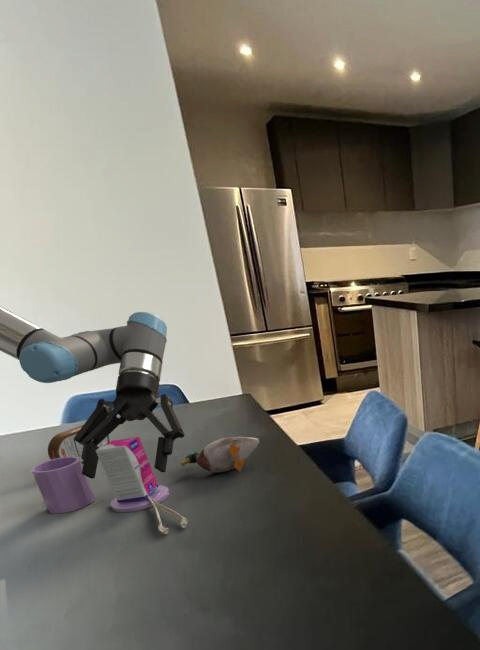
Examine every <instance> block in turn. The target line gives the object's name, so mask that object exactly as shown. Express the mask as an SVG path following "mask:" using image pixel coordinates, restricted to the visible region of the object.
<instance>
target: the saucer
mask: <svg viewBox="0 0 480 650" xmlns="http://www.w3.org/2000/svg"><path fill="white" fill-rule="evenodd" d="M148 496H150V497H151V498H152V499H153V500H155V501H156V502H158V503H160V504H161V503H162V502H164V501H165V500H166V499H167V498H168V497H169V496H170V490H169V488H168V487H167V486H166V485H160V484H158V488H156V489H155V490H154V491H153V492H152V493H150V494H149V495H148ZM152 507H154V506H153V505H152V503H151V501H150V500H149V498H148V497H146V498H145V499H140V500H134V501H128V502H123V503H118V502H117V499H116V497H114V498H113V499H112V500H111V501H110V508H111V510H112V511H113V512H116V513H131V512H138V511H141V510H145V509H148V508H152Z"/></svg>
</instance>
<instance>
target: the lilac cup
mask: <svg viewBox="0 0 480 650" xmlns="http://www.w3.org/2000/svg"><path fill="white" fill-rule="evenodd" d="M82 469H83V463H81V460H80V458H78V457H73V456H71V457H62V458H57V459H53V460H51V459H49V460H46V461H42V462H41V463H38V464H36V465H34V466H32V468H31V469H30V472H31V475H32V476H33V477H32V478H33V479H34V482H35V484H36V486H37V488H38V491H39V494H40V495H41V498H42V500H43V502H44V505H45V508H46V509H47V511H48V513H50V514H65V513H70V512H75V511H77V510H79V509H82V508H84V507H87V506H88V505H90V504H91V503H92V502H94V501H95V496H94V492H93V489H92V487H91V484H90V482H89V479H88V477H87V476H85V475H83V474H82Z"/></svg>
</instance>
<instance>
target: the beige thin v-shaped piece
mask: <svg viewBox="0 0 480 650" xmlns="http://www.w3.org/2000/svg"><path fill="white" fill-rule="evenodd" d="M147 497H148V498H149V500H150V501H151V503H152V505H153V506H152V507H153V509H154V511H155V514H156V517H157V520H158V526H157V529H158V531H159V532H160V533H162V534H163V535H169V533H170V532H169V530H170V528H169V527H165V526H163V523H162V520H161V516H160V512H159V510H158V509H160V511H162V512H165V513H167V514H168V515H170V516H172V517H174V519H176V520H178V521H179V522H180V523H179V525H180V527H181V528H182V529H185V528H186V527H187V525H188V519H187V518H186V517H185V516H182V515H181V514H180V513H178V512H177V511H175V510H174V509H171V508H169V507H168V506H165V505H164V504H162V503H161V502H160V503H158V502H156V501H155V500H153V499H152V498H151V497H150V496H147Z"/></svg>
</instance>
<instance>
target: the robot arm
mask: <svg viewBox="0 0 480 650" xmlns="http://www.w3.org/2000/svg"><path fill="white" fill-rule="evenodd" d="M167 331H168V327H167V324H166V322H165V321H164V320H163V319H162V318H161V317H159V316H158V315H156V314H154V313H151V312H146V311H136V312H133V313H132V314H130V315H129V316H128V320H127V321H126V325H122V326H117V327H112V328H105V329H104V328H103V329H95V330H86V331H81V332H78V333H73V334H71V335H69V336H64V337H61V336H58V335H56V334H54V333H52V332H50V331H48V330H46V329H44V328H42V327H41V326H38V325H37V324H35V323H32V322H31V321H29V320H27V319H25V318H23V317H21V316H20V315H17V314H16V313H14V312H12V311H10V310H9V309H6V308H5V307H3V306H0V352H1V353H3V354H6V355H8V356H10V357H12V358H13V359H15V360H18V361H19V365H20V368H21V369H22V371H23V372H25V374H27V375H28V377H29V378H30V379H33V380H34V381H36V382H39V383H43V384H51V383H56V382H63V381H67V380H69V379H72V378H73V377H76V376H79V375H81V374H86V373H88V372H92V371H95V370H97V369H101V368H104V367H106V366H110V365H117V364H119V370H118V376H117V380H116V385H115V398H114V399H113V400H110V401H109V400H105V399H104V398H100V399H98V401H97V403H96V407H95V409H94V410H93V412H91V414H90V415H89V417H88V418H87V420H85V422H84V423H83V424H82V425H83V426H82V428H81V429H80V430H79V432H78V433H77V434H76V436H75V437H74V440H75V441H76V442H78V443H80V444H81V445H83V451H82V456H81V458H82V460H84V462H83V463H82V466H83V469H82V474H83V475H85V476H87V478H89V479H96V474H97V468H98V463H99V457H98V455H97V453H96V450H97V449H99V447H98V446H97V445H98V444H99V443H100V442H101V441H103V440H104V439H105V438H106V437H107V436H108V435H110V434H111V433H112V432H113V431H114V430H115V429H117V427H119V426H120V425H124V423H125V422H134V421H145V419H146V418H147V420H148V421H149V422H150V423H152V424H153V426H154V427H155V428H156V429H157V430H158V432H160V434H161V435H162V436H159V437H158V439H157V447H156V453H155V460H154V466H153V467H154V469H156V470H157V471H159V472H161V473H166V472H167V465H168V457H169V456H171V455H172V454H173V449H174V442H175V440H176V439H178V438H179V439H183V438H184V437H185V432H184V430H183V428H182V425H181V424H180V422H179V419H178V417H177V415H176V413H175V411H174V409H173V400H172V399H171V398H170V397H169V396H168V395H167V394H165V393H163V394H161V395H160V397H159V391H160V382H161V377H162V369H163V359H164V355H165V350H166V344H167V341H168V340H167V334H168V333H167ZM158 405H159V406H158ZM157 407H160V408H161V409H162V411H163V413H164V417H166V420H167V423H168V424H169V426H170V428H171V430H170V429H168V427H166V426H165V424H164V423H163V422H162V421H161V420H160V419H159V418H158V416H157V415H156V414H155V413H154V412H153V411H154V410H156V409H157ZM118 415H119V417H118ZM92 440H93V441H92Z"/></svg>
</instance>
